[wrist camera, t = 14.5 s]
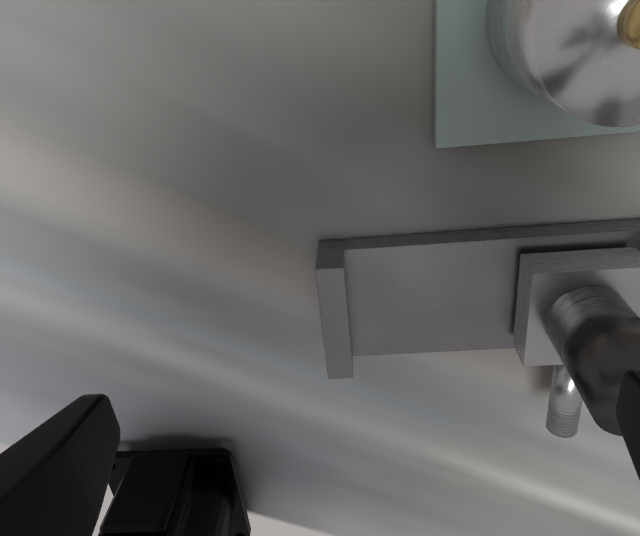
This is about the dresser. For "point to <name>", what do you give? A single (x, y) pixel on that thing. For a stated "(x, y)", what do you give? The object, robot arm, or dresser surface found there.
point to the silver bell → (572, 54)
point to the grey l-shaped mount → (488, 89)
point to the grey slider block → (580, 329)
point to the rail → (437, 286)
